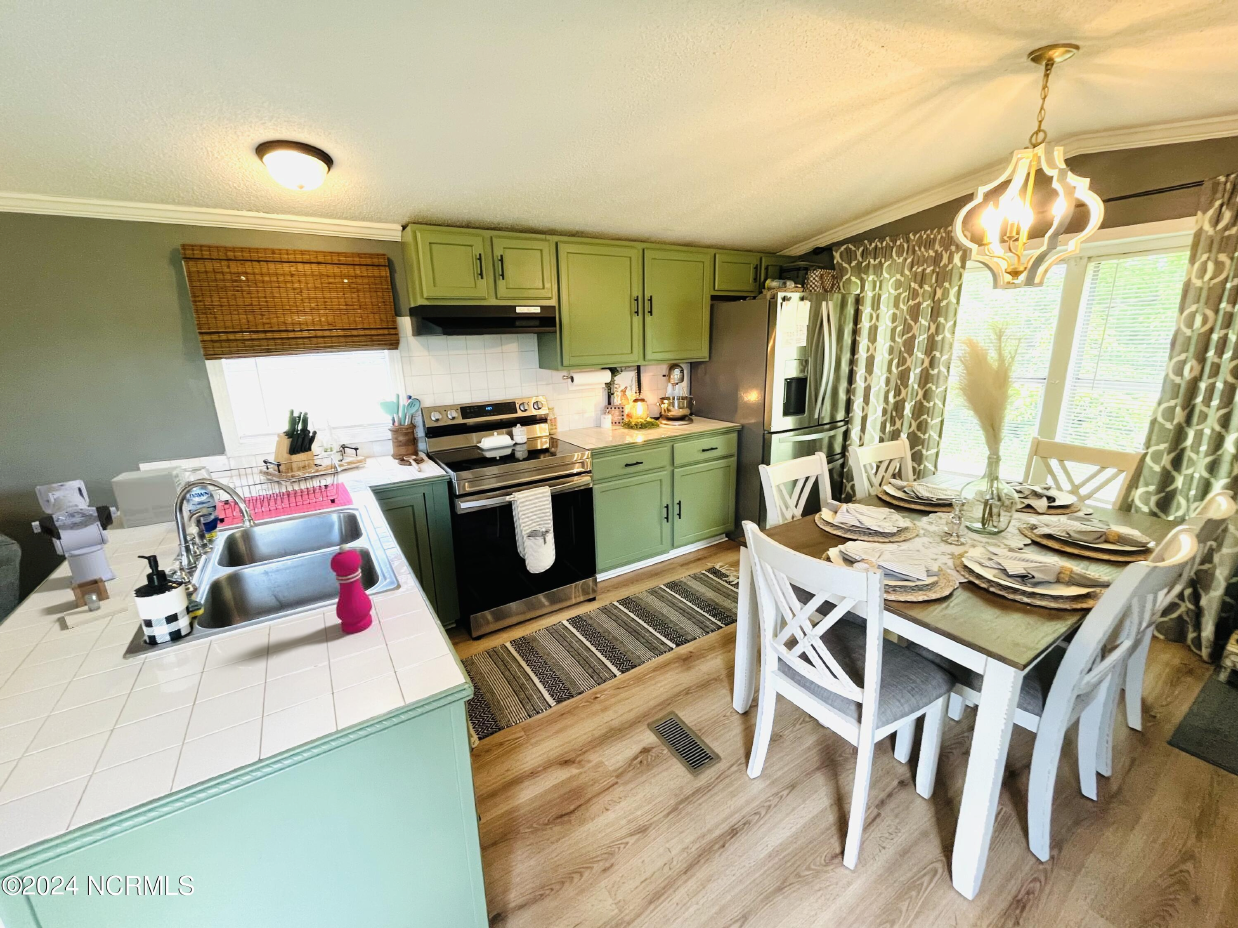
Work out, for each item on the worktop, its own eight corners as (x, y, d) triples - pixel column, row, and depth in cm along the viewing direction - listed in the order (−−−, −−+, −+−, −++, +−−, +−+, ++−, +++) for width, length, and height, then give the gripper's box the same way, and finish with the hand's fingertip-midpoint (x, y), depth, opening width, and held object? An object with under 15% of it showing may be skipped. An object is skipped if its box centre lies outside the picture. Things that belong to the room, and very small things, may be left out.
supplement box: (194, 509, 195) (182, 464, 190) (185, 519, 184) (173, 472, 179) (135, 517, 187) (122, 471, 182) (123, 529, 176) (108, 480, 171)
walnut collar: (77, 602, 126) (70, 585, 125) (106, 594, 130) (101, 576, 129) (80, 609, 123) (73, 591, 122) (110, 600, 127) (104, 582, 126)
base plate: (64, 616, 120) (57, 597, 119) (120, 598, 128) (115, 581, 126) (68, 629, 115) (62, 609, 113) (127, 609, 122) (122, 591, 121)
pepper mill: (360, 636, 109) (345, 553, 104) (331, 633, 111) (315, 550, 105) (381, 618, 116) (368, 539, 111) (354, 615, 117) (340, 537, 112)
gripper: (25, 505, 122) (31, 525, 114) (108, 491, 133) (119, 508, 125) (34, 530, 124) (40, 552, 117) (114, 514, 135) (125, 533, 127)
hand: (81, 531), depth 121 cm, fingers open, 7 cm apart
